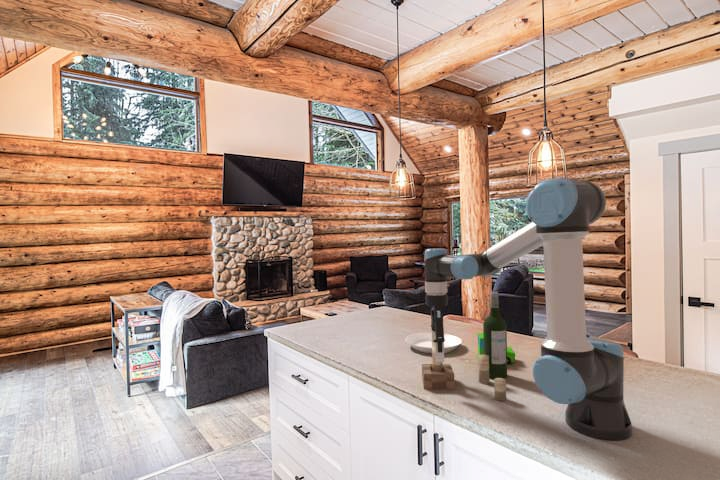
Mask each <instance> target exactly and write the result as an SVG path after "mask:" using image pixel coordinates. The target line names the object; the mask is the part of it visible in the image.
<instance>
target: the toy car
mask: <svg viewBox="0 0 720 480" xmlns="http://www.w3.org/2000/svg"><path fill="white" fill-rule="evenodd" d="M477 350H478V351H477V356H479V355H484V336H483V333H481V332H478V333H477ZM515 361H516V353H515V351H514V350H513V348H512V347H511V346H507V366H508V365H509V364H511V363H515Z"/></svg>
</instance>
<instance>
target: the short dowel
mask: <svg viewBox="0 0 720 480" xmlns="http://www.w3.org/2000/svg"><path fill="white" fill-rule="evenodd" d="M493 380H494V381H493V382H494V400H495V401H498V402H507V379H506V378H505V379H503V378H495V379H493Z"/></svg>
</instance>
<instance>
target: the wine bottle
mask: <svg viewBox="0 0 720 480" xmlns="http://www.w3.org/2000/svg"><path fill="white" fill-rule="evenodd" d="M489 295H490V306H489V307H490V309H489V311H490V312H489V315H488V316H487V317H486V318H485V319H484V321H483V322H482V323H483V324H482V326H483V327H482V328H483V336H484V355H488V356H489V379H491V380H492V379H493V380H494V379H495V378H503V379H505V380H506V379H507V377H508V365H507V347H508V342H507V340H508V339H507V334H508V333H507V329H508V328H507V325H508V324H507V323H506V320H505V319H504V318H503V317H502V316H501V315H500V308H499V307H500V306H499V305H500V302H499V292H497V291H491V292H490V294H489Z"/></svg>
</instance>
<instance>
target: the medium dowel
mask: <svg viewBox="0 0 720 480" xmlns="http://www.w3.org/2000/svg"><path fill="white" fill-rule="evenodd" d="M478 383H480V384H483V385H487V384H489V383H490V378H489V356H488V355H478Z"/></svg>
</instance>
